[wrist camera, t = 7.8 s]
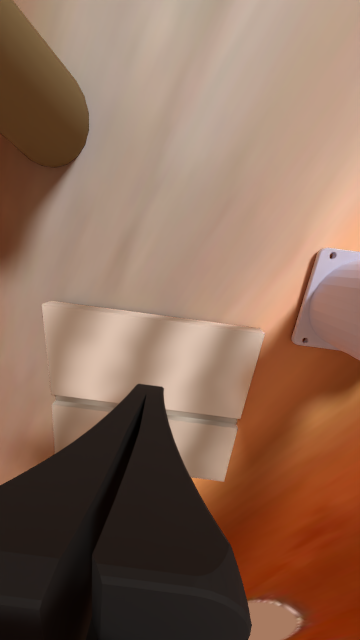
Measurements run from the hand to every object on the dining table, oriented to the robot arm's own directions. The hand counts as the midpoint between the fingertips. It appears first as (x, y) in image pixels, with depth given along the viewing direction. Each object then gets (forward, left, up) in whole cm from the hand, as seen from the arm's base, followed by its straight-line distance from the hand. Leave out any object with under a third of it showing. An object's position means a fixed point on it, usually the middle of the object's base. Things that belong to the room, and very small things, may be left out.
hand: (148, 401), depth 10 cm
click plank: (+1, +2, -8) cm, 8 cm away
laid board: (+1, +11, -8) cm, 14 cm away
